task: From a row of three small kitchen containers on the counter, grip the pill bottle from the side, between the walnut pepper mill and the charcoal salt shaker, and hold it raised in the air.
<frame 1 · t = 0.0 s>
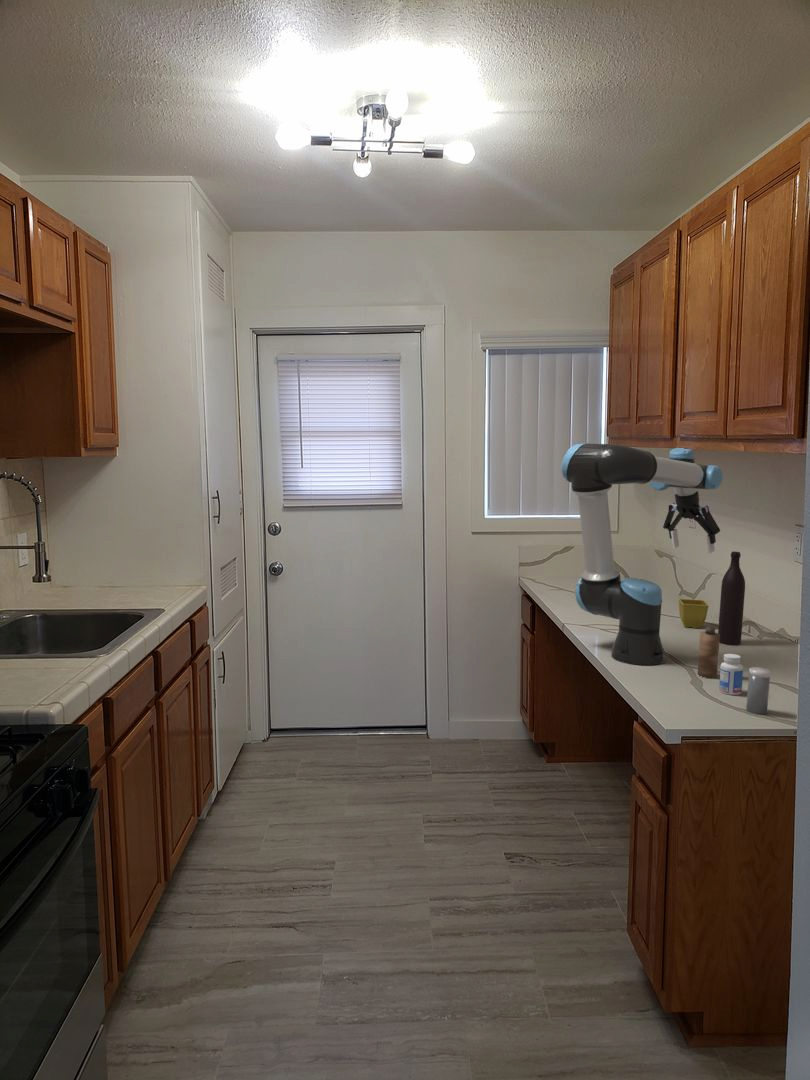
hand: (693, 549, 264), 28 cm above the countertop, tool tilted 20°, fingers open, 13 cm apart
wine bottle: (729, 643, 248), on the countertop
walnut pepper mill: (707, 675, 211), on the countertop
flower pot: (691, 627, 269), on the countertop
pill bottle: (730, 692, 198), on the countertop
charcoal salt shaker: (756, 711, 184), on the countertop
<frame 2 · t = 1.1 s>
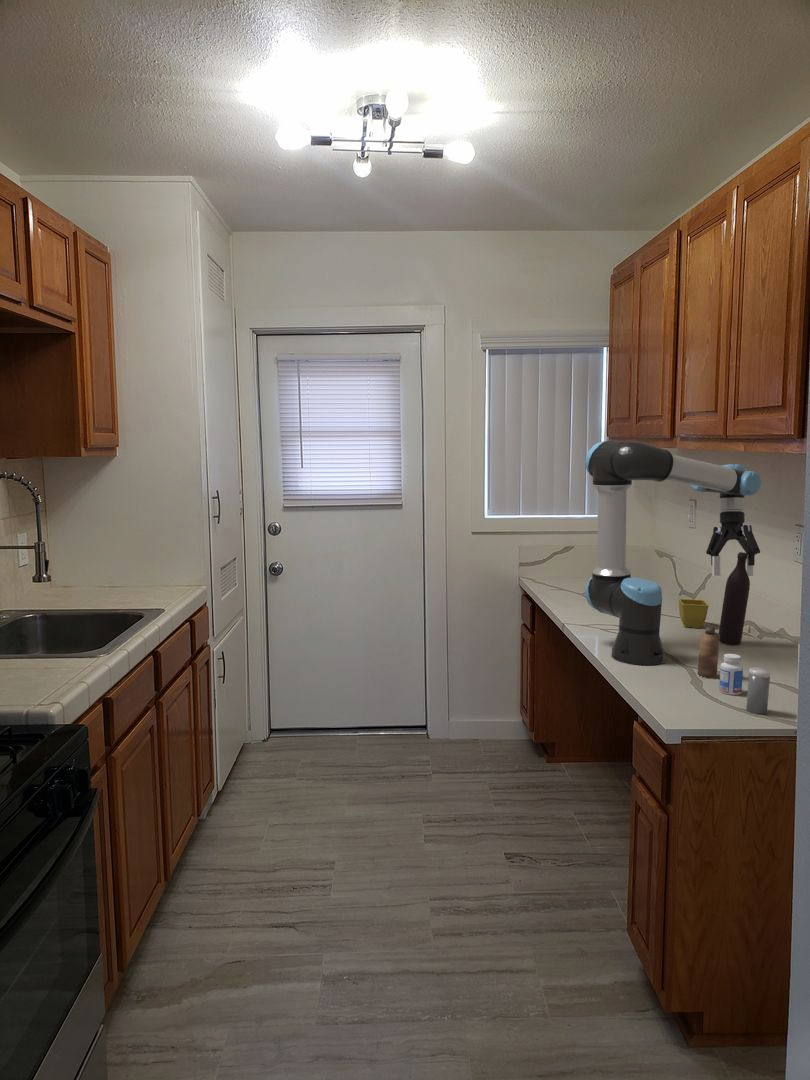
hand: (732, 575, 250), 21 cm above the countertop, tool pointing down, fingers open, 13 cm apart
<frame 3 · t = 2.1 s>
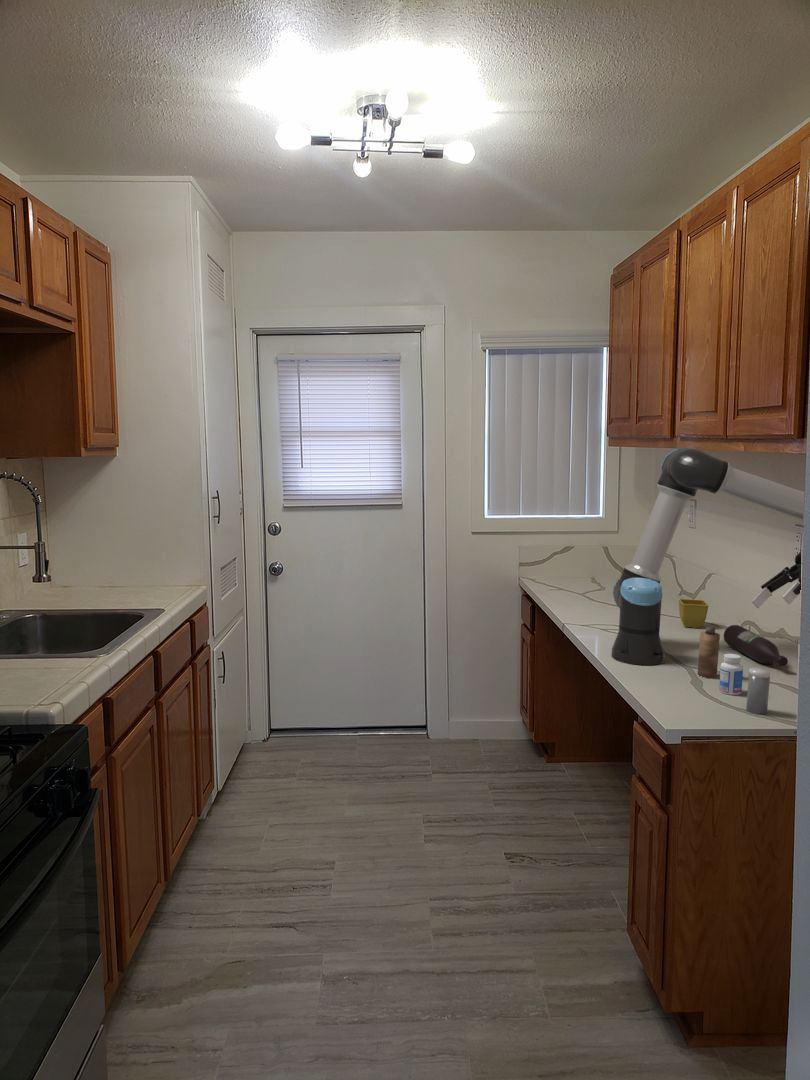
hand: (770, 602, 220), 19 cm above the countertop, tool tilted 55°, fingers open, 13 cm apart
wine bottle: (733, 635, 244), point 4 cm above the countertop
everything else where it was.
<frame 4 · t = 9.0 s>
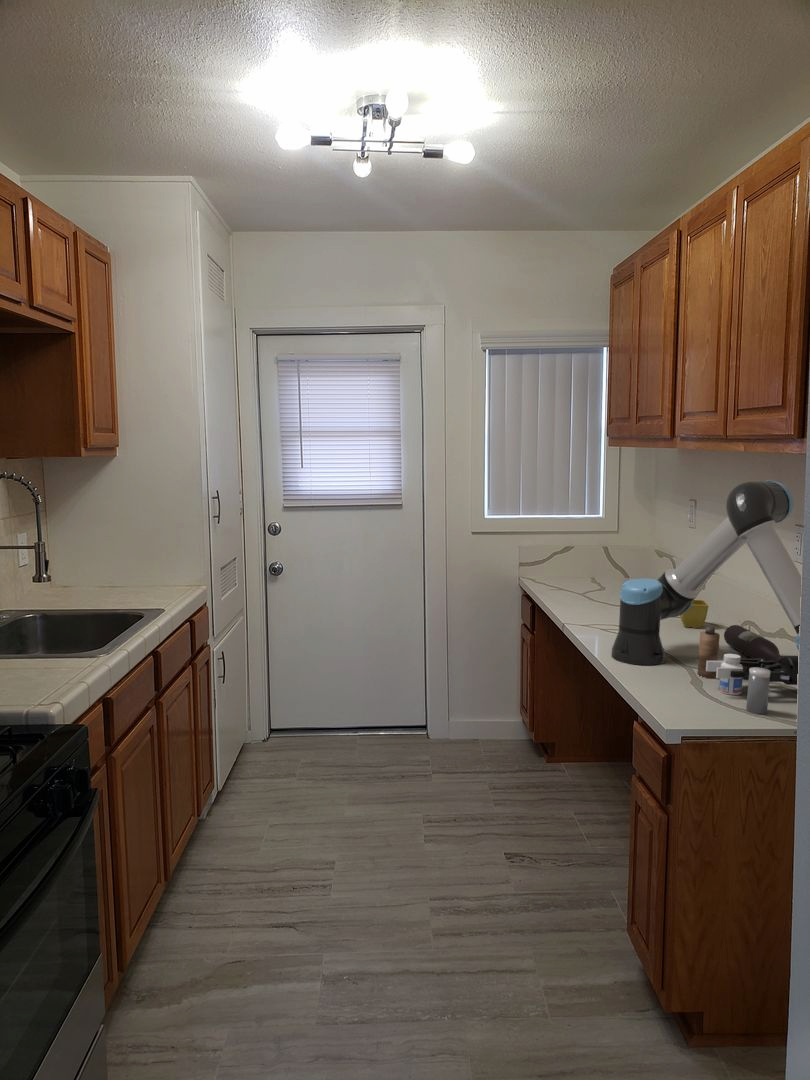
hand: (712, 669, 197), 6 cm above the countertop, tool horizontal, fingers closed on pill bottle, 5 cm apart
pill bottle: (730, 692, 198), on the countertop, touching gripper
everything else where it was.
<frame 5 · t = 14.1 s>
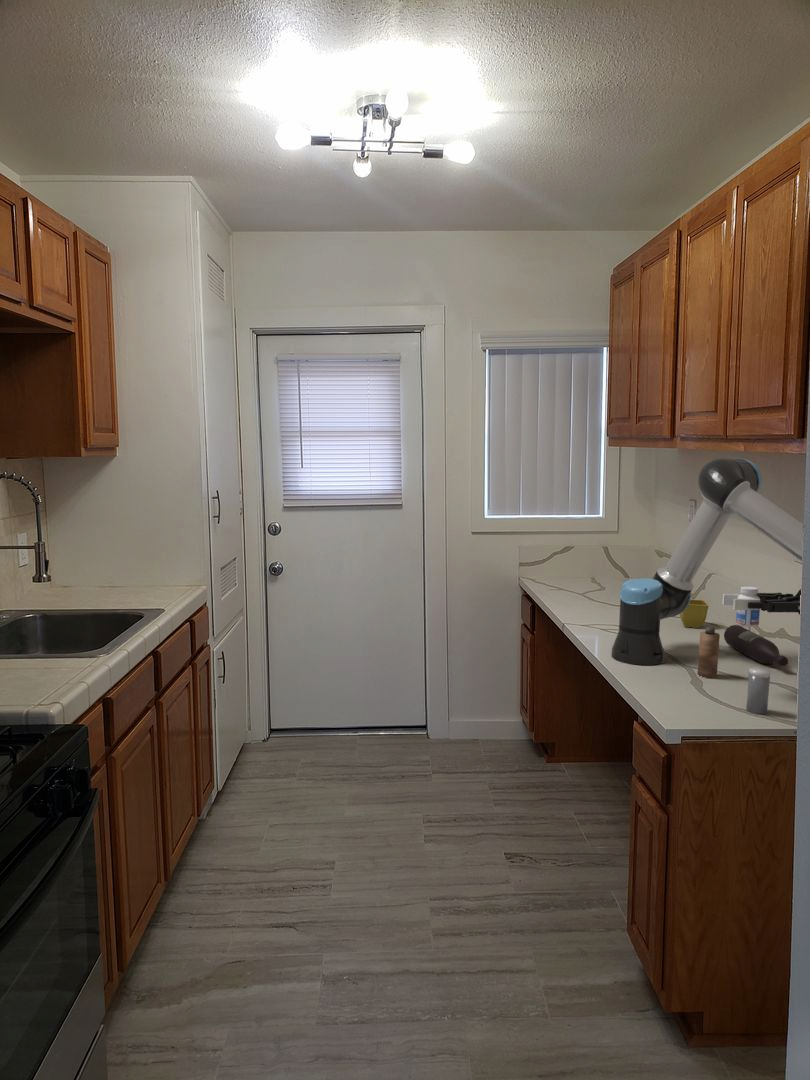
hand: (728, 601, 194), 24 cm above the countertop, tool horizontal, fingers closed on pill bottle, 5 cm apart
pill bottle: (746, 625, 195), point 18 cm above the countertop, touching gripper
everything else where it was.
at the end: the gripper is holding pill bottle; pill bottle point 17.7 cm above the countertop; walnut pepper mill moved 0.0 cm from its start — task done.
